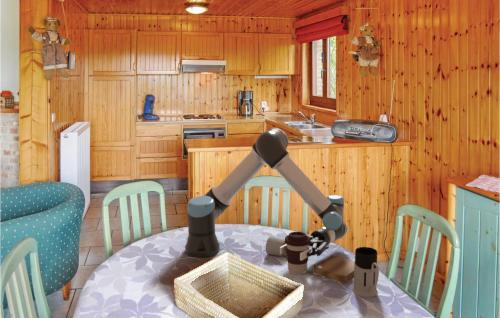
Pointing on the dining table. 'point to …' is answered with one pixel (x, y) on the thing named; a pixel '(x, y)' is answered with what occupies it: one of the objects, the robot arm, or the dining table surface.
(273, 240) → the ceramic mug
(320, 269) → the walnut slab
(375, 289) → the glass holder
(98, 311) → the dining table surface
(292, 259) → the coffee cup
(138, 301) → the dining table surface
